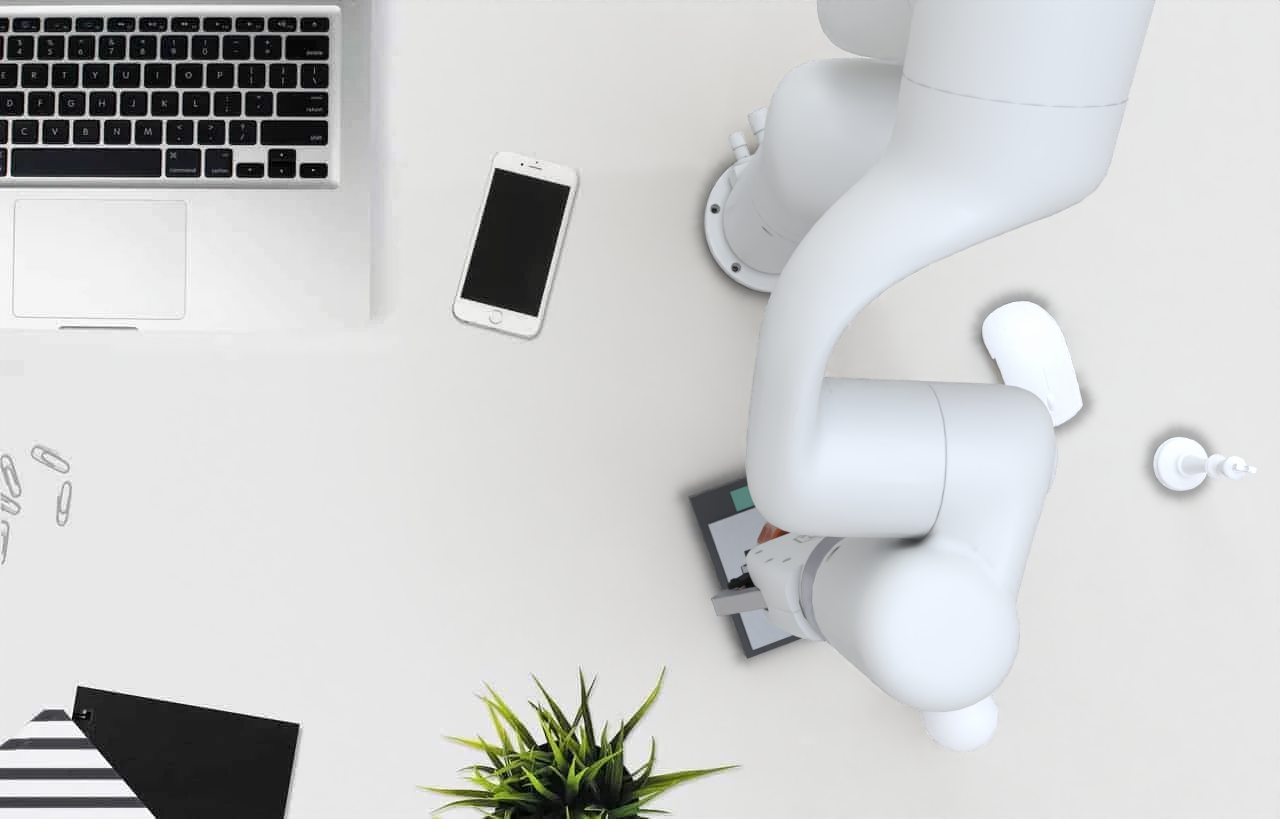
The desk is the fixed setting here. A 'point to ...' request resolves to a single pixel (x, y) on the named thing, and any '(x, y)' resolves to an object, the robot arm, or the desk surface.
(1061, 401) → the computer mouse
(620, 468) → the desk surface
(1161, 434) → the desk surface
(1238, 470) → the chess piece
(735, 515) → the scale
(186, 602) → the desk surface
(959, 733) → the lightbulb
